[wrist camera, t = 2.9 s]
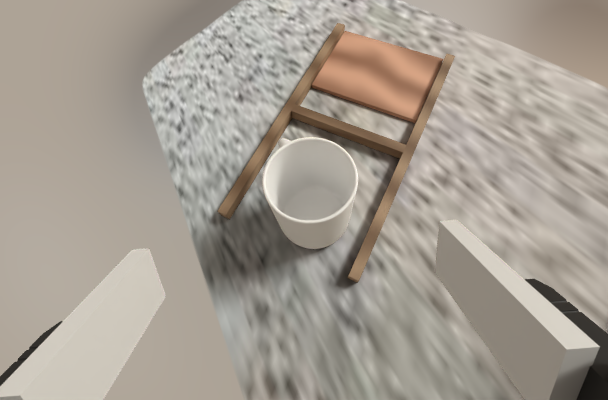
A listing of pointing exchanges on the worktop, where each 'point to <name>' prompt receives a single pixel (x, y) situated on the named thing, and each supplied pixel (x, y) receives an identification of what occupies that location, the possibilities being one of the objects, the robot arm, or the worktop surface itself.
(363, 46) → the flat wooden frame
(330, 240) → the mug
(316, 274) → the worktop surface
